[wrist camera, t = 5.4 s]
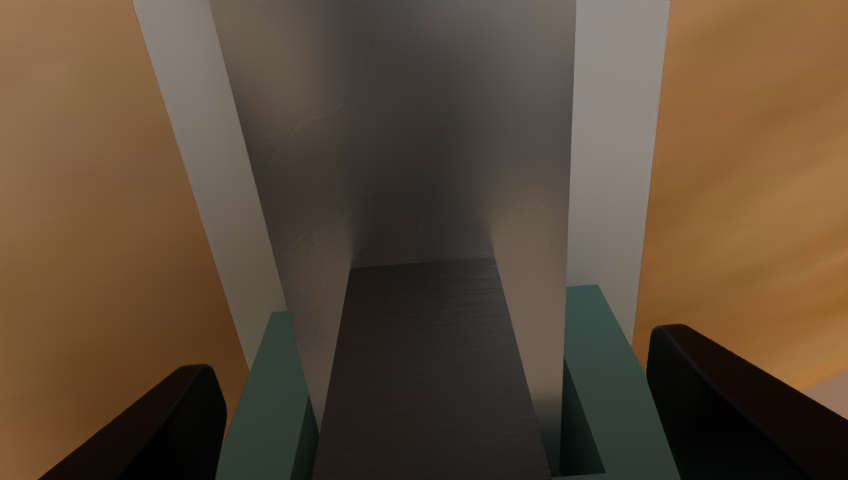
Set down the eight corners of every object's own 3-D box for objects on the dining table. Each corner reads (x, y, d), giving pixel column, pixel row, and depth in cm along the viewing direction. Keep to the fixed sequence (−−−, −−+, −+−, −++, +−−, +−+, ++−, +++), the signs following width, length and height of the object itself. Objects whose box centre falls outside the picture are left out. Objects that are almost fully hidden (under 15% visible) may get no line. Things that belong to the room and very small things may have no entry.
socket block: (589, 405, 16) (678, 640, 10) (303, 428, 16) (250, 670, 11) (597, 284, 14) (711, 499, 8) (271, 312, 14) (188, 539, 9)
